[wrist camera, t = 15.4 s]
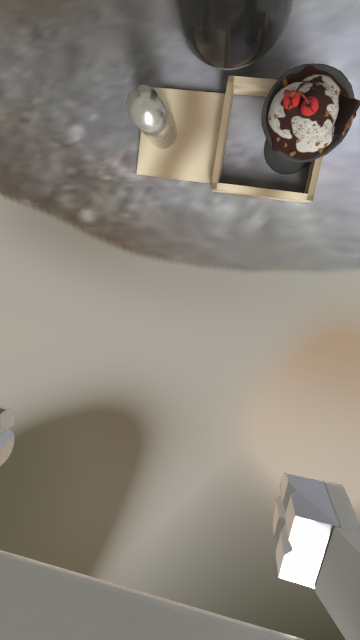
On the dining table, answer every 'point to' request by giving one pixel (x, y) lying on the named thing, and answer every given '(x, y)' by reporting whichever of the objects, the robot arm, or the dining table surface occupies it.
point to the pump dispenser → (231, 29)
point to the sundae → (306, 116)
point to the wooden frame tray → (198, 135)
